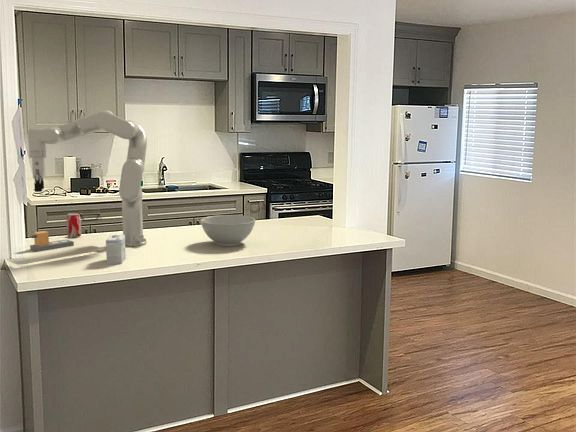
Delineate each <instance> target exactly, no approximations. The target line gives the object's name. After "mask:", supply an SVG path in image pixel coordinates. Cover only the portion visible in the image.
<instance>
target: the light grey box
mask: <svg viewBox="0 0 576 432" xmlns="http://www.w3.org/2000/svg"><path fill="white" fill-rule="evenodd" d="M105 252H106V265H123V262H124V261H125V260H126V258H127V257H126V256H127V255H126V254H127V253H126V246H125V235H123V234H115V235H114V234H112V235H109V236H108V238H107V239H106V240H105Z"/></svg>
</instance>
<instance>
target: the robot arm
mask: <svg viewBox="0 0 576 432" xmlns="http://www.w3.org/2000/svg"><path fill="white" fill-rule="evenodd" d="M100 131H106V132H107V133H110V134H111V135H114V136H116V137H118V138H121V139H123V140H128V146H127V156H126V160H125V162H124V163H123V166H122V168H121V174H120V180H119V188H118V194H119V197H120V199H121V210H122V211H121V215H122V217H121V218H122V235H125V247H137V246H143V245H146V244H147V239H146V238H145V237H144V236H145V235H144V229H143V228H144V227H143V226H144V225H143V223H144V222H143V221H144V220H143V188H142V178H143V174H144V171H145V161H146V156H147V154H146V153H147V146H148V143H147V141H148V139H147V135H146V132H145V130H144V129H143V127H142V126H141V125H140V124H139V123H137V122H135V121H133V120H126V119H125V118H122V117H120V116H117V115H115V114H114V113H113V112H112V111H111V110H107V109H105V110H102V109H101V110H99V111H98V112H94V113H91V114H88V115H85V116H84V115H83V116H82V117H79V118H76V119H75V120H73V121H71V122H68V123H66V124H62V125H59V126H58V125H57V126H55V127H50V128H42V127H41V128H40V127H37V128H36V127H31V128H29V129H27V140H28V142H27V143H28V156H29V158H30V159H31V165H32V169H31V170H32V178H33V179H34V184H33V185H34V192H36V193H40V192H41V193H42V192H43V190H44V189H45V180H44V179H45V178H46V176H47V175H46V162H45V158H47V148H46V147H47V146H46V144H47V145H56V144H60V143H62V142H65V141H68V140H71V139H75V138H78V137H85V136H87V135H91V134H93V133H97V132H100Z"/></svg>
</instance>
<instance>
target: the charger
mask: <svg viewBox="0 0 576 432" xmlns="http://www.w3.org/2000/svg"><path fill="white" fill-rule="evenodd" d="M49 235H50V234H49V232H48V231H46V230H41V231H40V230H39V231H34V232H33V235H30V238H31V239H33V241H34V244H35V246H38V247H40V246H46V245H49V242H50V238H49Z"/></svg>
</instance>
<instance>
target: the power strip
mask: <svg viewBox="0 0 576 432" xmlns="http://www.w3.org/2000/svg"><path fill="white" fill-rule="evenodd" d="M74 243H75V242H74V241H73V240H71V239H70V240H69V239H60V240H55V241H49V245H46V246H40V247H38V246H35V243H34V244H31V245H29V249H30V251H32V252H33V251H34V252H37V253H40V252H46V251H50V250H56V249H62V248H69V247H73V246H75V244H74Z"/></svg>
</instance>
